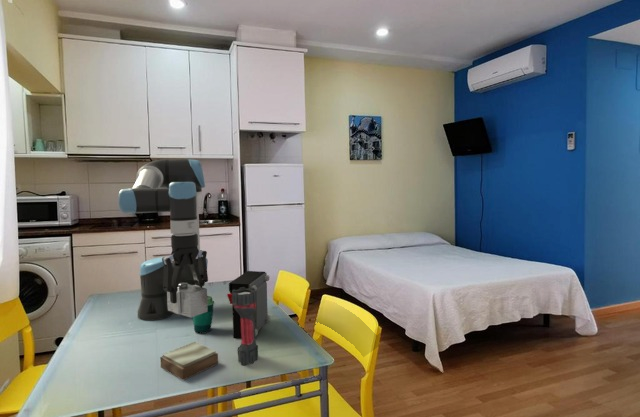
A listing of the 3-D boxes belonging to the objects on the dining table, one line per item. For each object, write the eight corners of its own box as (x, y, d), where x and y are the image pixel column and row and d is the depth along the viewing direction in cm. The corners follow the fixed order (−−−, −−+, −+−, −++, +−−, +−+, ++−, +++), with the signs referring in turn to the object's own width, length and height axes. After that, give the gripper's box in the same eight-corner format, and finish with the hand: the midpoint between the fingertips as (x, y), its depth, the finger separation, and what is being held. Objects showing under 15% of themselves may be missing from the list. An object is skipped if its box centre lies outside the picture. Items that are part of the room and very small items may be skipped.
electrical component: (255, 340, 134) (254, 284, 132) (228, 337, 136) (226, 283, 134) (271, 321, 151) (270, 271, 149) (247, 319, 153) (246, 270, 151)
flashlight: (236, 370, 113) (234, 295, 111) (231, 359, 120) (229, 288, 118) (261, 365, 116) (260, 291, 114) (255, 354, 123) (253, 285, 121)
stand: (160, 367, 115) (160, 354, 115) (195, 352, 124) (195, 340, 124) (183, 380, 108) (182, 366, 107) (218, 363, 117) (217, 351, 117)
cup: (188, 332, 141) (186, 300, 140) (201, 324, 148) (200, 294, 147) (206, 335, 138) (205, 303, 137) (219, 326, 146) (218, 296, 145)
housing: (190, 317, 109) (189, 290, 108) (167, 310, 115) (166, 284, 114) (207, 311, 114) (206, 285, 113) (184, 304, 120) (183, 279, 119)
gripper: (160, 239, 103) (164, 322, 105) (219, 231, 118) (221, 303, 120) (146, 236, 107) (150, 316, 109) (204, 229, 122) (207, 299, 124)
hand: (187, 309), depth 114 cm, fingers closed on housing, 6 cm apart
